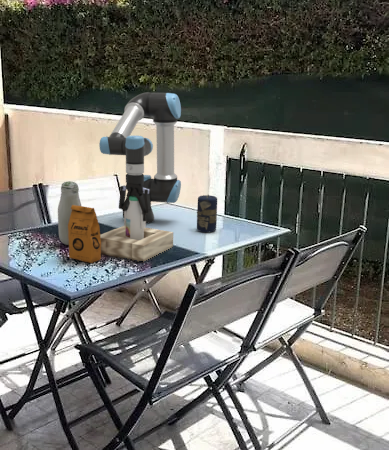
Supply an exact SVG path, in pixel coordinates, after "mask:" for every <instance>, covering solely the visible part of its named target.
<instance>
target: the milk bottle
mask: <svg viewBox="0 0 389 450" xmlns="http://www.w3.org/2000/svg"><path fill="white" fill-rule="evenodd" d="M129 202H130V204H129V207H128V210H127V212H126V238H129V239H135V240H142V239H144V229H141V214H142V210H141V207H140V204H139V201H138V199H137V197H136V196H129Z"/></svg>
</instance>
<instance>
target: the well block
mask: <svg viewBox="0 0 389 450" xmlns="http://www.w3.org/2000/svg"><path fill="white" fill-rule="evenodd" d="M100 237H101V255H105V256H109V257H115V258H119V257H120V259H124V258H127V259H126V260H129V259H132V260H131V261H134V260H137V261H136V262H139V261H143V262H142V263H145V262H144V261H146V260H147V261H149V260H151V259H153V258H155V257H157V256H159V255H160V254H159V253H161V254H163V253H165V252H167V251H169V250H171V249H173V248H174V231H169V230H162V229H157V228H153V227H151V228H150V227H146V228H144V239H142V240H135V239H129V238H126V226H124V225H122V226H120V227H116V228H114V229H111V230H109V231H107V232H104V233H100ZM172 247H173V248H172ZM170 248H171V249H170ZM168 249H169V250H168ZM166 250H167V251H166ZM164 251H165V252H164ZM162 252H163V253H162ZM158 254H159V255H158ZM156 255H157V256H156ZM154 256H155V257H154ZM152 257H153V258H152ZM150 258H151V259H150ZM148 259H149V260H148ZM147 261H146V262H147Z"/></svg>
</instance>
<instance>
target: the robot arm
mask: <svg viewBox="0 0 389 450" xmlns="http://www.w3.org/2000/svg"><path fill="white" fill-rule="evenodd" d="M181 106H182V105H181V102H180V98H179V96H178V95H177V94H176V93H171V92H147V91H146V92H143V93H140V94H138V95H136V96H134V97H133V98H131V99H130V100H129V101H128V102H127V103H126V105H125V106H124V113H122V115H121V117H120V119H119V120H118V122H117V124H116V125H115V127H114V128H113V130H112V132H111V133H110V135H109V136H107V135H106V136H102V137H101V138H100V140H99V142H98V143H99V145H98V146H99V152H100V153H101V154H102V155H109V156H111V155H112V156H113V155H114V156H125V173H126V174H125V183H126V184H125V185H121V186H119V191H120V192H119V199H118V200H119V201H118V209H119V210H122V218H123V220H124V221H123V226H126V212H127V210H128V207H129V204H130V202H129V196H136V197H137V199H138V201H139V204H140V207H141V210H142V214H141V229H144V228H147V224H150V223H153V222H155V215H154V212H153V209H152V202H153V203H165V204H175V203H176V202H177V201H178V199H179V198H180V193H181V188H182V187H181V186H182V182H181V180H179V179H178V175H177V174H176V173H175V125H176V124H177V122H178V119H180V118H181V115H182V113H181V112H182V107H181ZM143 118H152V120H153V121H152V123H153V124H155V125H156V127H155V128H156V129H155V131H156V173H155V175H154V176H153V178H152V176H151V175H150V174H144V173H145V157H146V156H148V155H149V154H151V153H152V151H153V150H154V149H153V148H154V145H153V142H152V141H151V139H149V138H146V137H144V136H142V135H131V134H132V133H133V132H134V129H135V128H136V126H137V124H138V122H139V121H141V120H142V119H143Z"/></svg>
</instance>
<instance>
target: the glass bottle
mask: <svg viewBox="0 0 389 450" xmlns="http://www.w3.org/2000/svg"><path fill="white" fill-rule="evenodd" d="M79 192H80V191H79V185H78V183H77V182H75V181H64V182H62V184H61V186H60V197H59V198H60V200H59V202H58V207H57V224H58V225H57V226H58V237H59V238H58V239H59V240H60V242H61V243H62V244H63V245H67V246H69V239H68V223H69V219H70V215H71V212H72V209H71V206H72V205H76V206H82V202H81V199H80V194H79Z"/></svg>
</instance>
